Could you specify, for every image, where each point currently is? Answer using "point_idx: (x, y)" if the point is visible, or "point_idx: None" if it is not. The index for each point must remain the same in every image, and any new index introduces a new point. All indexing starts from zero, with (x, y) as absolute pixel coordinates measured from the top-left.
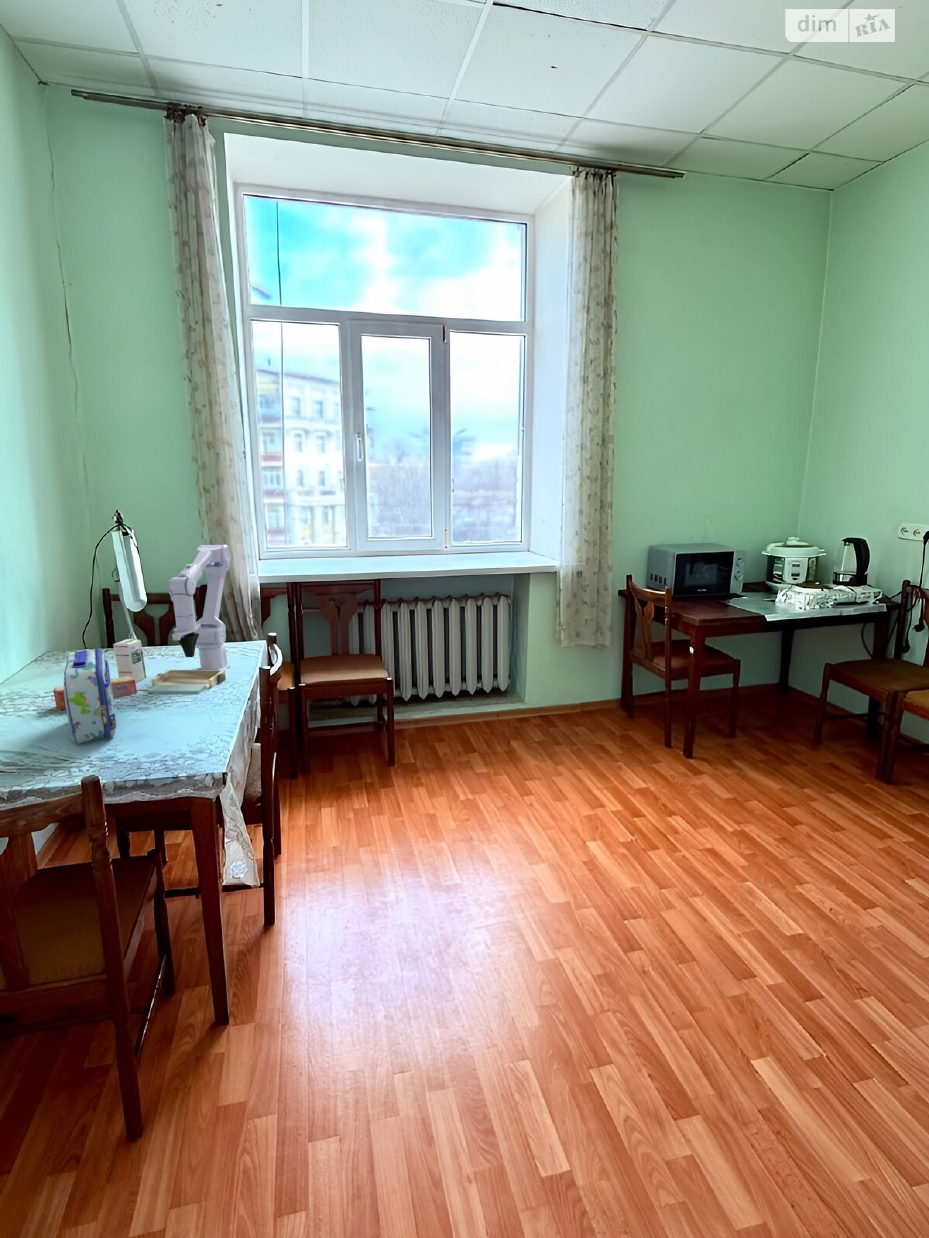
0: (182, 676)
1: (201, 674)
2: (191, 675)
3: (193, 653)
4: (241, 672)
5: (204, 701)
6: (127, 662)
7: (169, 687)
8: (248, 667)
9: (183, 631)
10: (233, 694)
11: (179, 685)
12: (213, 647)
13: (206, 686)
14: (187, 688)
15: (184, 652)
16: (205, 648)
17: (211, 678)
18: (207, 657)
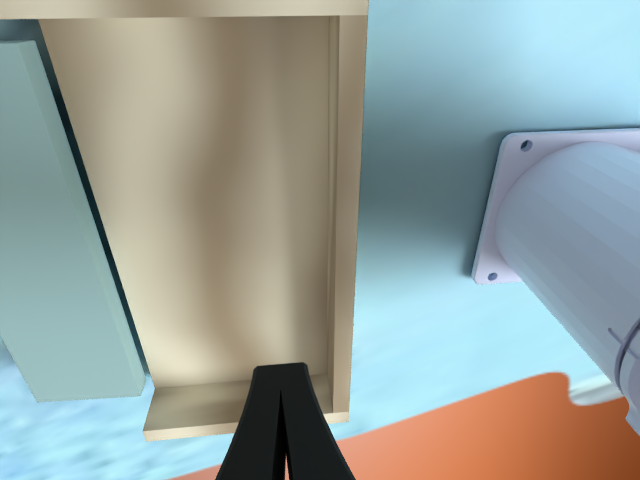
0: (329, 142)
1: (330, 290)
2: (329, 219)
3: (286, 453)
4: (495, 359)
5: (24, 403)
6: None
7: (9, 208)
8: (579, 353)
9: None
10: (158, 455)
11: (77, 259)
12: (632, 404)
13: (142, 388)
14: (46, 332)
15: (242, 417)
16: (629, 355)
17: (173, 432)
18: (563, 298)
